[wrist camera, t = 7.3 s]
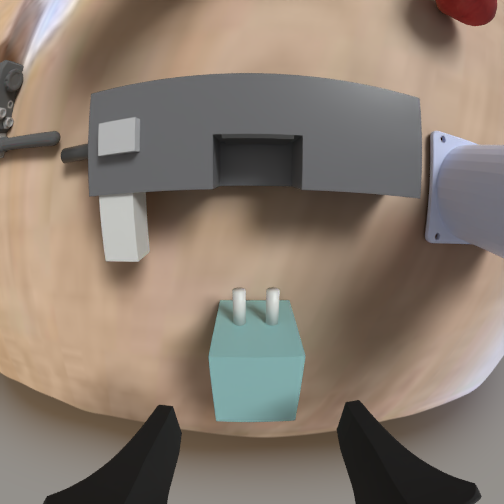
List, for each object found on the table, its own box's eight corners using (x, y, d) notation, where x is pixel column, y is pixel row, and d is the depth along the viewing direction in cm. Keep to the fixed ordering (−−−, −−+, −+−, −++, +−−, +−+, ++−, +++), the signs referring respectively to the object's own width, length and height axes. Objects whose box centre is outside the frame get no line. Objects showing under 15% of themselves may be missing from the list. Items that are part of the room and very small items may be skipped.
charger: (290, 271, 17) (310, 320, 11) (284, 361, 19) (294, 421, 13) (218, 271, 17) (205, 320, 11) (223, 361, 19) (216, 422, 13)
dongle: (145, 172, 14) (132, 173, 12) (149, 251, 15) (138, 261, 13) (113, 175, 14) (98, 176, 12) (119, 251, 15) (105, 261, 13)
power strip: (386, 110, 14) (425, 96, 10) (386, 191, 16) (426, 199, 12) (74, 118, 14) (33, 109, 10) (74, 194, 16) (32, 204, 11)
